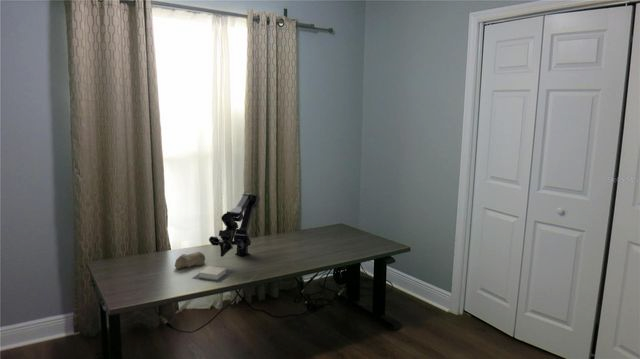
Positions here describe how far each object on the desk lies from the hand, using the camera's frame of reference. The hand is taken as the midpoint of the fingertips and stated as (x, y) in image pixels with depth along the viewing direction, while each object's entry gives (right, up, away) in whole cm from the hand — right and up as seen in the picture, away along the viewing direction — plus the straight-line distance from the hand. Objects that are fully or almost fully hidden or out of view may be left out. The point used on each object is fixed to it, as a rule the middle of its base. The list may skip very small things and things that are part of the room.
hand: (221, 256), depth 239 cm
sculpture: (-18, -7, +5) cm, 20 cm away
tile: (-1, -6, -4) cm, 8 cm away
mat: (-2, -9, -7) cm, 11 cm away
